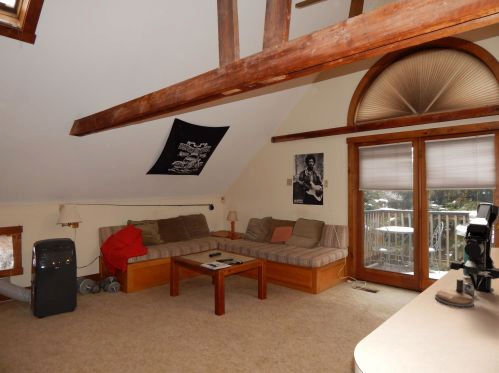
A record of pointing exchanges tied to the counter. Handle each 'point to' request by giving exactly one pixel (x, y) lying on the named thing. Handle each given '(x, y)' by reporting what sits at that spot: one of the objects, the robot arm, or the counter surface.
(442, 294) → the turntable
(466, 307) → the base
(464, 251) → the beverage bottle
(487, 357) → the counter surface
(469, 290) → the cover
